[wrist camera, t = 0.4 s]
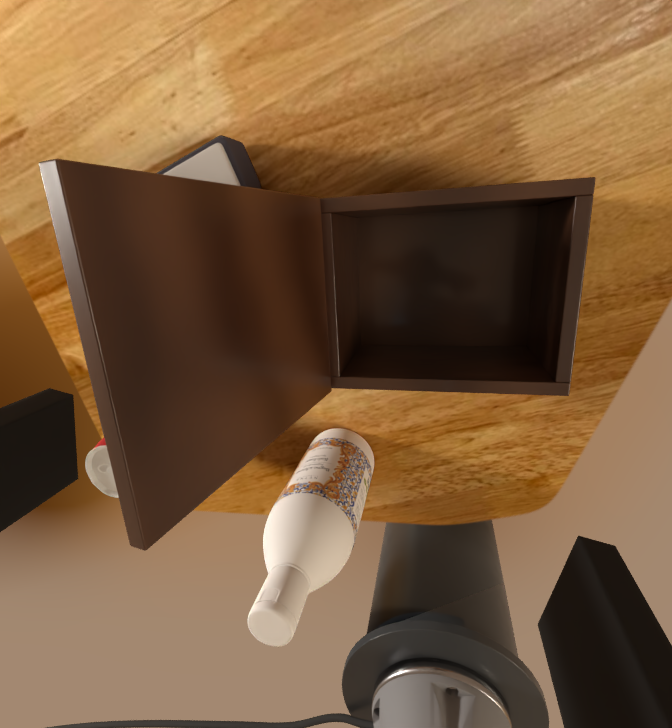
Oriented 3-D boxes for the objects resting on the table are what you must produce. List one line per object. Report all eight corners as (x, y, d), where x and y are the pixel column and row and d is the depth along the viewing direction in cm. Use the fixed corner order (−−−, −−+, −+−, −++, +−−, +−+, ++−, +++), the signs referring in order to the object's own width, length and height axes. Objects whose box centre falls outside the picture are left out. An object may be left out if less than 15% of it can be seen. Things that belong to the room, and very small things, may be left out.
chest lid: (55, 158, 11) (36, 161, 11) (145, 552, 15) (129, 546, 15) (320, 197, 26) (308, 198, 26) (331, 391, 29) (321, 390, 30)
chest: (549, 192, 32) (596, 176, 22) (535, 353, 35) (569, 396, 26) (347, 207, 35) (316, 198, 26) (353, 351, 39) (328, 388, 30)
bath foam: (367, 421, 41) (309, 579, 22) (381, 482, 43) (339, 676, 24) (302, 430, 43) (200, 581, 24) (319, 488, 45) (235, 671, 26)
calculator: (197, 352, 39) (113, 193, 35) (218, 339, 43) (145, 195, 39) (299, 311, 35) (218, 130, 31) (312, 301, 39) (241, 139, 35)
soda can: (158, 417, 47) (70, 475, 36) (178, 382, 45) (92, 432, 33) (197, 446, 47) (122, 514, 36) (219, 413, 45) (146, 473, 33)
